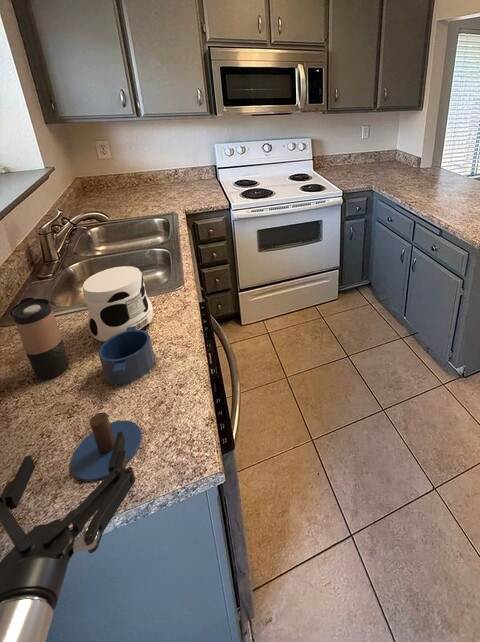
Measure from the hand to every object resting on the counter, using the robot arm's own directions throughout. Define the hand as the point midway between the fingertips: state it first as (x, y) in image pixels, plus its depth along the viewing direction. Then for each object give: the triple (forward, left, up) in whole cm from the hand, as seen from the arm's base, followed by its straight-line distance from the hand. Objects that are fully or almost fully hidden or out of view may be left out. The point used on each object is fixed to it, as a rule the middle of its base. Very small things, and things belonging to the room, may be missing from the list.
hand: (77, 448), depth 61 cm
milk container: (-5, +53, -13) cm, 55 cm away
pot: (0, +34, -13) cm, 36 cm away
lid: (0, +10, -13) cm, 16 cm away
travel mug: (-20, +40, -13) cm, 47 cm away
